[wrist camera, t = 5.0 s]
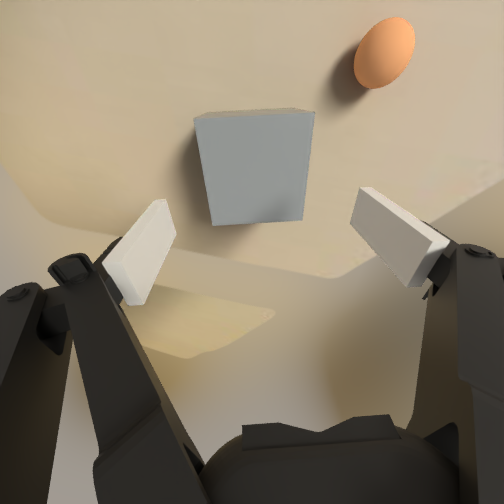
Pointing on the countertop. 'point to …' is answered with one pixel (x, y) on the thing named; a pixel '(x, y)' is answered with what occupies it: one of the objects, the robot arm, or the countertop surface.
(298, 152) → the gray tapered block
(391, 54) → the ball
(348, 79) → the countertop surface
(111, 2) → the countertop surface
